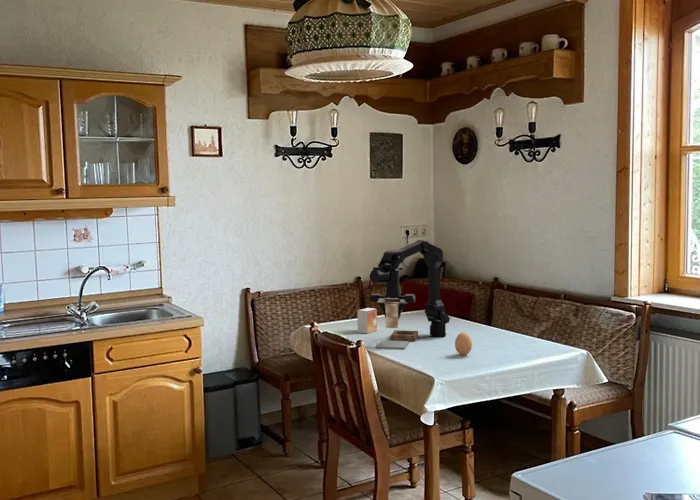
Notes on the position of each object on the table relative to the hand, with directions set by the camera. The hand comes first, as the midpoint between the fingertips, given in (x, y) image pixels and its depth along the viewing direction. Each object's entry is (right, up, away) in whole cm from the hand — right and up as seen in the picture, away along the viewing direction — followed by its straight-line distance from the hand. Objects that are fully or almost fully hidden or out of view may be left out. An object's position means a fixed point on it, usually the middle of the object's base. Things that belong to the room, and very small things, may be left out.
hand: (392, 318), depth 299 cm
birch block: (0, -4, 0) cm, 4 cm away
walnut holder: (+6, -10, +15) cm, 19 cm away
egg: (+27, -13, -17) cm, 34 cm away
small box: (-10, -9, +31) cm, 33 cm away
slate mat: (0, -12, +1) cm, 12 cm away
